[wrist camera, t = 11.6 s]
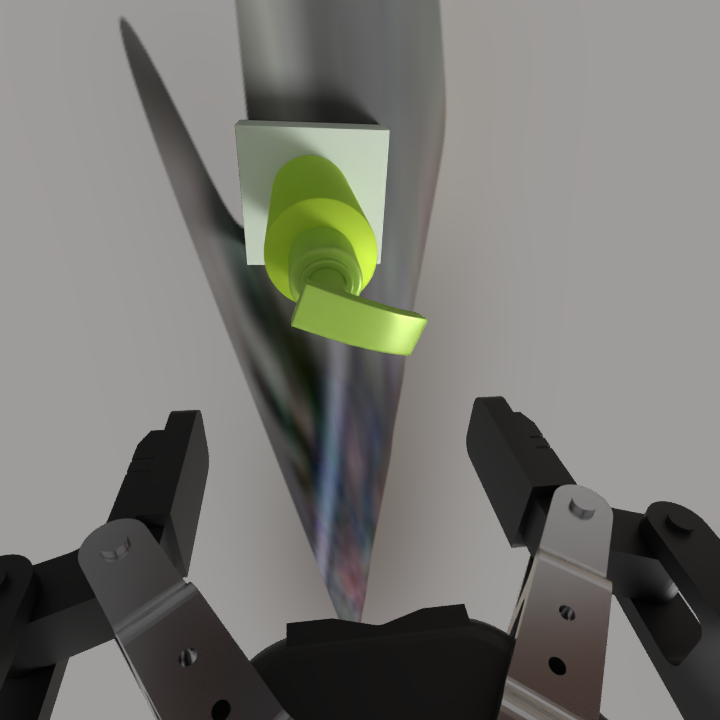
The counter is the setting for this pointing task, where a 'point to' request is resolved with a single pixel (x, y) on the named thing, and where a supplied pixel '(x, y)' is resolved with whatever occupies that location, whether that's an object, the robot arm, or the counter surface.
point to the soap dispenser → (330, 260)
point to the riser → (294, 139)
